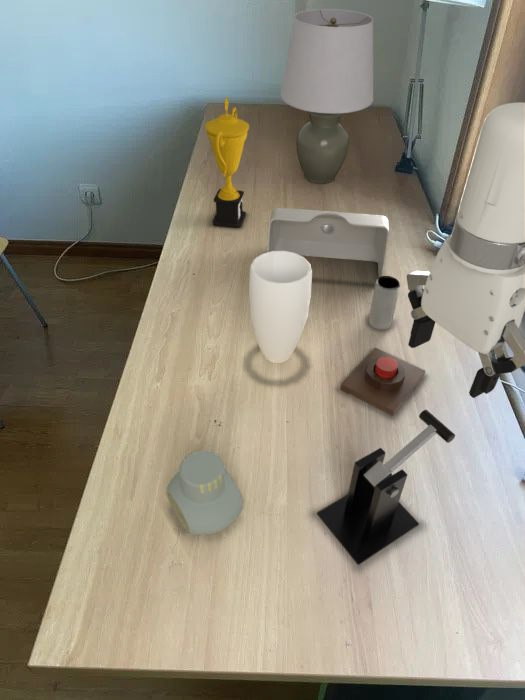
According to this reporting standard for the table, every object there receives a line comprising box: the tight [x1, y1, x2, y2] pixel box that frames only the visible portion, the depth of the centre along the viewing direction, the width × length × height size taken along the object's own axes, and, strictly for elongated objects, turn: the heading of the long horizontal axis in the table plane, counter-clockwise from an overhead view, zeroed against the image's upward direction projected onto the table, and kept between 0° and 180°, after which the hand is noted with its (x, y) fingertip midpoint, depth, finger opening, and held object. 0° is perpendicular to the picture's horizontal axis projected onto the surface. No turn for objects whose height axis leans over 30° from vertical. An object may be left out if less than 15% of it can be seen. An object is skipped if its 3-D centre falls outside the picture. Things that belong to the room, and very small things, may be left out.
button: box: [375, 357, 398, 379], centre depth 96 cm, size 4×4×2 cm
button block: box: [340, 347, 426, 417], centre depth 98 cm, size 12×10×4 cm
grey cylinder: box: [368, 275, 401, 330], centre depth 108 cm, size 4×4×10 cm
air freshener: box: [165, 449, 244, 536], centre depth 77 cm, size 11×8×10 cm
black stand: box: [316, 447, 420, 566], centre depth 75 cm, size 11×9×13 cm
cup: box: [248, 251, 313, 364], centre depth 95 cm, size 10×10×22 cm
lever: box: [364, 409, 456, 489], centre depth 72 cm, size 12×5×2 cm, turn 123°
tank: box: [266, 207, 390, 278], centre depth 123 cm, size 25×16×12 cm, turn 83°
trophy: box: [204, 96, 250, 229], centre depth 130 cm, size 19×10×30 cm, turn 170°
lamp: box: [279, 8, 374, 185], centre depth 147 cm, size 24×24×40 cm
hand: (448, 366), depth 67 cm, fingers open, 9 cm apart
